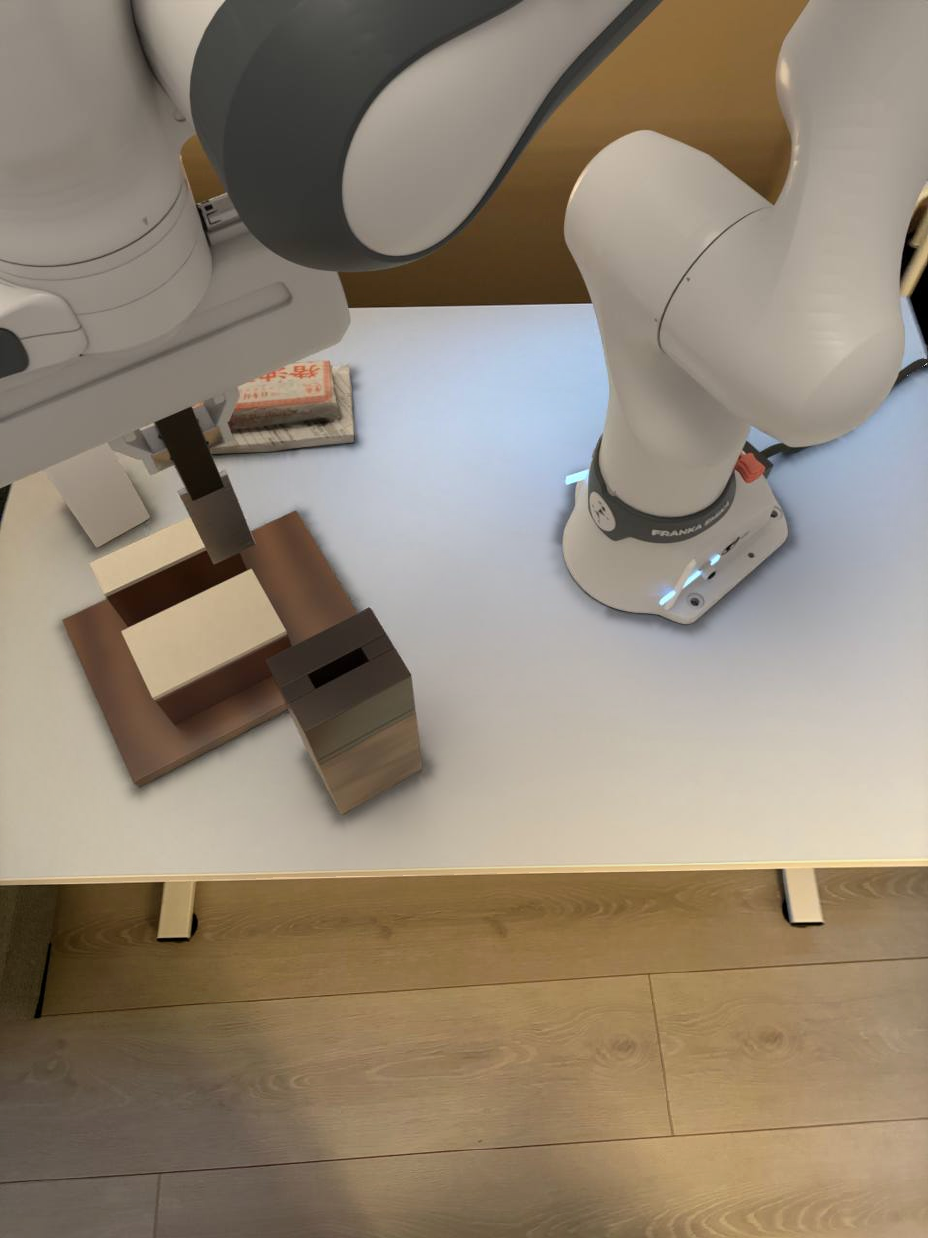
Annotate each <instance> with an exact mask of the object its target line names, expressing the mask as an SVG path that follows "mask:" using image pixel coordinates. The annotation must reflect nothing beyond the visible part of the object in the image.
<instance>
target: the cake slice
mask: <svg viewBox="0 0 928 1238" xmlns="http://www.w3.org/2000/svg"><path fill="white" fill-rule="evenodd" d="M89 566H90V568H91V570H92V573H93V574H94V577H95V579H96V582H97V583H98V585H99V587H100V590H101V592H102V594H103V596H104V597H105V599H108V601H109V602H110V603H111V605H112V606H113V608H114V609H115V610H116V612H117V613H118V614H119V616H120V617H121V618H122V620H123V621H124V623H125V624H126V625H127V627H130V626H132V625H134V624H136V623H138V622H140V621H142V620H144V619H146V618H148V617H151V616H153V615H155V614H157V613H159V612H161V611H163V610H165V609H167V608H169V607H171V606H173V605H176V604H178V603H180V602H182V601H184V600H186V599H188V598H190V597H192V596H194V595H196V594H199V593H201V592H203V591H205V590H207V589H209V588H211V587H213V586H215V585H217V584H219V583H221V582H224V581H226V580H228V579H230V578H232V577H234V576H236V575H238V574H240V573H242V572H244V571H246V570H247V568H246V566H245V563H244V561H243V559H242V556H241V554H240V552H239V553H237V554H235V555H233V556H231V557H229V558H227V559H225V560H222V561H220V562H218V563H216V564H213V562H212V560H211V558H210V556H209V554H208V552H207V550H206V548H205V546H204V544H203V542H202V540H201V538H200V536H199V534H198V532H197V530H196V528H195V526H194V524H193V522H192V520H191V518H190V516H189V517H187V518H185V519H182V520H180V521H178V522H176V523H174V524H171V525H169V526H167V527H164V528H162V529H161V530H159V531H156V532H153V533H151V534H150V535H148V536H145V537H143V538H141V539H139V540H136V541H134V542H133V543H130V544H128V545H125V546H123V547H121V548H119V549H117V550H114V551H112V552H109V553H108V554H106V555H103V556H101V557H99V558H97V559H95V560H93V561H91V562H89Z"/></svg>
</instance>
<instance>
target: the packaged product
mask: <svg viewBox="0 0 928 1238" xmlns="http://www.w3.org/2000/svg"><path fill="white" fill-rule="evenodd" d="M352 386H353V385H352V379H351V373H350V367H349V364H344V365H336V366H333V365H332V364H331V361H330V360H326V359H325V360H312V361H311V360H310V361H309V360H308V361H297V362H294V363H292V364H290V365H287V366H285V367H283V368H280V369H278V370H276V371H273V372H271V373H269V374H266V375H264V376H262V377H259V378H257V379H254V380H252V381H250V382H247V383H245V384H243V385H240V386H238V390H239V393H240V397H239V399H238V401H237V404H236V406H235V409H234V411H233V413H232V416H231V418H230V421H228V422H227V423H228V426H229V428H230V431H231V434H232V436H233V440H231V441H229V442H227V443H224V444H222V445H220V446H217V447H215V448H212V449H210V452H211V454H212V455H220V454H240V453H241V454H242V453H245V454H246V453H270V452H278V451H285V450H291V449H298V448H309V447H319V446H327V445H339V444H348V443H354V437H355V421H354V414H353V413H354V412H353V387H352ZM202 404H203V402H201V403H198V404H196V405H194V406H192V408H193V409H194V408H196V407H198V406H200V405H202Z"/></svg>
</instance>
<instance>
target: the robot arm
mask: <svg viewBox="0 0 928 1238" xmlns="http://www.w3.org/2000/svg"><path fill="white" fill-rule="evenodd" d="M663 2H664V0H0V489H2V488H4V487H7V486H9V485H11V484H13V483H16V482H18V481H21V480H23V479H26V478H27V477H30V476H32V475H34V474H36V473H37V474H38V473H39V472H41V471H44V469H46V468H48V467H51V466H53V465H55V464H58V463H60V462H62V461H65V460H67V459H70V458H72V457H74V456H77V455H79V454H81V453H84V452H86V451H88V450H91V449H93V448H95V447H98V446H100V445H102V444H105V443H108V444H109V446H110V448H111V450H113V451H114V452H115V453H118V454H121V455H123V456H124V455H125V456H127V457H130V458H133V459H135V460H138V461H142V462H143V464H144V467H145V468H146V470H147V472H148V474H149V475H150V476H151V477H152V476H154V475H157V474H158V473H160V472H162V471H165V470H167V469H169V468H171V467H173V466H174V465H175V464H174V462H173V460H172V458H171V455H170V453H169V451H168V449H167V447H166V445H165V443H164V442H163V440H162V438H161V436H160V434H159V432H158V430H157V428H156V427H155V425H154V422H156V421H158V420H161V419H163V418H166V417H168V416H170V415H173V414H175V413H177V412H180V411H182V410H184V409H187V408H189V407H191V406H194V405H196V404H198V403H201V402H203V404H202V405H200V406H198V407H196V408H194V409H193V411H194V413H195V416H196V418H197V421H198V423H199V425H200V428H201V430H202V433H203V435H204V437H205V440H206V442H207V445H208V447H209V450H210V449H212V448H215V447H217V446H220V445H222V444H224V443H227V442H229V441H231V440H233V436H232V434H231V431H230V428H229V426H228V423H227V422H228V421H230V418H231V416H232V413H233V411H234V409H235V406H236V404H237V401H238V399H239V397H240V393H239V390H238V386H240V385H243V384H245V383H247V382H250V381H252V380H254V379H257V378H259V377H262V376H264V375H266V374H269V373H271V372H273V371H276V370H278V369H280V368H283V367H285V366H287V365H290V364H292V363H295V362H300V361H301V360H303V359H306V358H308V357H310V356H313V355H315V354H317V353H318V354H319V353H320V352H322V351H324V350H327V349H330V348H332V347H334V346H336V345H338V344H339V343H340V342H341V341H342V340H343V338H344V336H345V335H346V334H347V331H348V329H349V328H350V325H351V320H352V319H351V313H350V309H349V304H348V300H347V296H346V293H345V290H344V287H343V283H342V281H341V278H340V275H339V273H365V272H376V271H383V270H388V269H389V270H390V269H394V268H398V267H402V266H404V265H408V264H410V263H414V262H416V261H418V260H421V259H423V258H425V257H427V256H429V255H432V254H433V253H435V252H436V251H438V250H439V249H442V248H443V247H444V246H445V245H447V244H448V243H450V242H451V241H452V240H453V239H455V238H456V237H457V236H458V235H459V234H461V233H462V232H463V231H464V230H465V229H466V228H467V227H468V226H469V225H470V224H471V223H472V221H473V220H474V219H475V218H476V217H477V216H478V215H479V214H480V213H481V211H482V210H483V209H484V208H485V206H486V205H487V204H488V203H489V201H490V200H491V199H492V197H493V196H494V195H495V194H496V192H497V190H498V189H499V188H500V186H502V184H503V182H504V181H505V179H506V178H507V176H508V175H509V174H510V172H511V170H512V169H513V168H514V167H515V165H516V163H517V162H518V160H519V159H520V158H521V156H522V155H523V153H524V152H525V151H526V149H527V148H528V146H529V145H530V144H531V143H532V141H533V139H534V138H535V137H536V135H537V134H538V132H540V130H541V129H542V128H543V126H544V125H545V124H547V121H548V120H550V118H551V116H552V115H553V114H555V112H556V111H557V110H558V109H559V108H560V107H561V106H562V104H563V103H564V102H565V101H566V100H567V99H568V98H569V97H570V96H571V95H572V94H573V93H574V92H575V91H576V90H577V89H578V88H579V86H581V85H582V84H583V83H584V82H585V80H586V79H588V77H589V76H590V75H592V73H594V71H595V70H596V69H597V68H599V66H600V65H602V63H603V62H604V61H605V60H606V59H607V58H608V57H609V56H610V55H611V54H612V53H613V52H614V51H615V50H616V49H617V48H618V47H619V46H620V45H621V44H622V43H623V42H625V40H626V39H627V38H628V37H629V36H630V35H631V34H632V33H633V32H634V31H635V30H636V29H637V28H638V26H640V25H641V24H642V23H643V22H644V21H645V20H646V19H647V18H648V16H650V15H651V14H652V12H653V11H655V10H656V8H658V7H659V6H660V5H661V4H662V3H663ZM775 67H776V68H775V77H774V78H775V79H774V80H775V93H776V98H777V103H778V106H779V110H780V111H781V115H782V117H783V120H784V122H785V125H786V127H787V130H788V132H789V135H790V141H791V147H790V149H791V151H790V161H789V165H788V171H787V174H786V178H785V182H784V184H783V187H782V189H781V191H780V193H779V196H778V197H777V199H776V202H775V203H774V204H773V203H771V202H770V201H769V200H767V199H766V198H765V197H764V196H762V195H761V194H759V192H757V191H756V189H755V190H754V189H753V187H751V186H750V185H748V184H747V183H746V182H745V181H743V180H742V179H741V178H739V177H738V176H736V175H735V173H733V172H731V171H730V170H729V169H728V168H727V167H725V166H724V165H723V164H722V163H720V162H719V161H717V159H715V158H714V157H713V156H711V155H710V154H708V153H706V152H704V151H702V150H699V149H698V148H696V147H693V146H691V145H689V144H686V143H684V142H682V141H679V140H677V139H675V138H673V137H669V136H667V135H664V134H662V133H659V132H657V131H654V130H651V129H640V130H636V131H633V132H630V133H628V134H625V135H623V136H621V137H619V138H617V139H616V140H614V141H612V142H611V143H609V144H607V145H606V146H605V147H604V148H602V149H601V150H600V151H599V152H598V153H597V154H596V155H595V156H593V158H591V160H590V161H589V162H588V163H587V164H586V166H585V167H584V169H583V170H582V172H581V173H580V174H579V176H578V178H577V180H576V181H575V183H574V185H573V188H572V190H571V192H570V195H569V198H568V201H567V205H566V209H565V213H564V214H565V215H564V223H563V236H564V241H565V244H566V246H567V249H568V250H569V252H570V254H571V256H572V258H573V260H574V262H575V265H576V266H577V268H578V270H579V272H580V276H581V277H582V279H583V281H584V284H585V287H586V289H587V292H588V295H589V298H590V300H591V305H592V308H593V310H594V311H593V312H594V315H595V319H596V322H597V327H598V331H599V335H600V340H601V341H600V342H601V345H602V351H603V355H604V360H605V361H604V362H605V366H606V372H607V373H606V375H607V381H608V402H607V408H606V415H605V421H604V427H603V432H602V433H601V435H600V436H599V438H598V440H597V443H596V444H595V447H594V449H593V451H592V455H591V461H590V464H589V466H588V469H585V470H582V471H579V472H576V473H572V474H569V475H566V477H565V482H564V483H565V485H566V486H567V485H570V484H573V483H576V485H575V489H574V507H573V509H572V512H571V513H570V515H569V518H568V519H567V522H566V524H565V527H564V529H563V533H562V544H561V545H562V554H563V558H564V562H565V564H566V567H567V570H568V572H569V573H570V575H571V576H572V578H573V580H574V581H575V582H576V583H577V585H578V586H579V587H580V588H581V589H582V590H583V591H584V592H586V593H587V594H588V595H589V596H591V597H592V598H593V599H595V600H596V601H598V602H599V603H601V604H604V605H606V606H608V607H610V608H613V609H616V610H619V611H623V612H628V613H637V614H653V615H658V616H660V617H662V618H665V619H667V620H670V621H671V622H672V621H673V622H675V623H678V624H681V625H691V624H693V623H694V622H696V621H697V620H698V619H699V618H701V617H702V616H703V615H704V614H705V613H706V612H707V611H709V610H710V609H711V608H712V607H713V606H715V604H716V603H718V602H719V601H720V600H721V599H722V598H723V597H724V596H726V595H727V594H728V593H729V592H730V591H732V589H734V588H735V587H736V586H737V585H738V584H739V583H740V582H742V581H743V580H744V579H746V577H747V576H748V575H749V574H751V573H752V572H753V571H754V570H756V568H757V567H759V566H760V565H761V564H762V563H764V561H766V560H767V559H768V558H769V557H771V555H772V554H773V553H775V552H776V551H777V550H778V549H779V548H780V547H782V546H783V544H784V543H785V542H786V541H787V537H788V536H789V530H788V524H787V519H786V516H785V513H784V512H783V509H782V506H781V505H780V504H779V501H778V500H777V498H776V497H775V495H774V493H773V491H772V488H771V486H770V484H769V482H768V480H767V479H768V478H769V475H770V474H771V471H772V469H773V467H774V463H773V462H771V461H770V460H769V459H770V458H772V457H773V456H775V455H778V454H780V453H782V454H784V455H788V454H793V453H795V452H798V451H801V450H804V449H806V448H808V447H811V446H818V445H821V444H825V443H828V442H831V441H833V440H835V439H838V438H841V437H842V436H844V435H846V434H848V433H850V432H851V431H854V430H855V429H857V427H859V426H860V425H861V424H863V423H864V422H865V421H867V420H868V419H869V418H870V417H871V416H872V415H874V413H875V412H876V411H877V410H878V409H879V408H880V407H881V405H882V404H883V403H884V401H885V400H886V398H887V397H888V396H889V394H890V393H891V391H892V389H893V388H894V387H896V386H897V385H898V384H900V383H901V382H902V381H904V380H905V379H907V378H908V377H910V375H912V374H913V373H915V372H916V371H918V370H920V369H922V368H928V364H927V365H925V364H926V363H928V358H927V359H924V358H925V357H923V358H919V359H917V360H915V361H913V362H911V363H910V364H908V365H906V366H905V367H904V368H902V365H903V361H904V356H905V350H906V327H905V322H904V318H903V312H902V304H901V291H900V289H901V288H900V287H901V286H900V285H901V270H902V269H901V268H902V259H903V252H904V247H905V243H906V238H907V233H908V230H909V227H910V223H911V220H912V216H913V213H914V211H915V208H916V206H917V203H918V201H919V198H920V196H921V193H922V191H923V190H924V188H925V185H926V183H927V182H928V0H809V1H808V3H807V4H806V6H805V7H804V8H803V10H802V11H801V13H800V15H799V16H798V17H797V19H796V21H794V24H793V25H792V27H791V28H790V30H789V31H788V33H787V34H786V36H785V37H784V40H783V42H782V44H781V48H780V50H779V53H778V57H777V62H776V66H775ZM194 136H197V139H198V141H199V143H200V145H201V149H202V150H203V152H204V153H205V155H206V157H207V159H208V161H209V162H210V164H211V167H212V168H213V170H214V172H215V174H216V176H217V178H218V180H219V182H220V184H221V185H222V187H223V189H224V191H225V193H222V194H220V195H217V196H215V197H212V198H210V199H209V198H208V199H206V200H204V201H201V202H199V203H196V201H195V198H194V194H193V191H192V188H191V185H190V181H189V179H188V176H187V172H186V169H185V166H184V163H183V160H182V155H181V151H182V149H183V147H184V144H185V143H186V142H187V141H188V140H189V139H190V138H192V137H194ZM924 365H925V366H924ZM922 366H923V367H922ZM921 367H922V368H921ZM901 368H902V369H901ZM919 368H920V369H919ZM917 369H918V370H917ZM914 371H915V372H914ZM912 372H913V373H912ZM909 374H910V375H909ZM907 375H908V376H907ZM151 424H153V425H152V426H149V425H151ZM146 426H149V427H146ZM145 427H146V428H145ZM752 427H753V428H755V429H757V430H758V431H760V432H761V433H763V434H765V435H767V436H769V437H771V438H772V439H773V440H775V441H778V442H780V443H776V444H773V445H770V446H769V447H767V448H764V449H763V450H760V451H759V450H758V449H757V448H756V447H755V446H754V445H753V444H751V442H749V441H748V438H749V436H750V433H751V430H752ZM142 428H144V429H142ZM771 515H772V516H771ZM773 516H774V517H773ZM692 602H694V603H696V604H697V605H694V604H693V603H692Z"/></svg>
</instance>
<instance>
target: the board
mask: <svg viewBox="0 0 928 1238" xmlns="http://www.w3.org/2000/svg"><path fill="white" fill-rule="evenodd" d="M250 531H251V534H252V536H253V539H254V541H255V544H256V545H254V546H252V547H250V548H248V549H246V550H244V551H242V552H240V554H241V556H242V559H243V561H244V563H245V566H246V568H247V570H246V571H248V570H250V569H252V570H253V572H254V574H255V576H256V577H257V579H258V581H259V583H260V585H261V586H262V588H263V590H264V592H265V594H266V595H267V597H268V599H269V601H270V603H271V604H272V606H273V608H274V610H275V612H276V613H277V615H278V617H279V619H280V621H281V622H282V624H283V626H284V628H285V630H286V632H287V634H288V637H289V639H290V642H291V645H292V646H294V645H296V644H298V643H300V642H302V641H304V640H306V639H308V638H310V637H312V636H314V635H316V634H318V633H320V632H322V631H324V630H326V629H328V628H330V627H332V626H334V625H336V624H338V623H339V622H341V621H343V620H345V619H347V618H349V617H351V616H353V615H355V614H357V613H359V612H358V610H357V608H356V607H355V605H354V604H353V601H352V600H351V599H350V597H349V595H348V594H347V592H346V590H345V589H344V587H343V585H342V583H340V580H339V579H338V577H337V575H336V574H335V572H334V570H333V569H332V567H331V566H330V563H329V562H328V561H327V559H326V557H325V556H324V554H323V552H322V551H321V548H320V547H319V546H318V544H317V542H316V541H315V539H314V538H313V536H312V534H311V532H310V530H309V529H308V527H307V525H306V524H305V522H304V521H303V519H302V517H301V516H300V513H299V512H298V511H297V510H295V509H294V510H293V511H291V512H289V513H286V514H284V515H282V516H280V517H278V518H276V519H274V520H272V521H269V522H267V523H265V524H264V525H261V526H259V527H257V528H254V529H253V530H250ZM244 572H245V571H244ZM242 573H243V572H242ZM240 574H241V573H240ZM238 575H239V574H238ZM236 576H237V575H236ZM234 577H235V576H234ZM232 578H233V577H232ZM230 579H231V578H230ZM228 580H229V579H228ZM226 581H227V580H226ZM224 582H225V581H224ZM221 583H223V582H221ZM219 584H220V583H219ZM217 585H218V584H217ZM215 586H216V585H215ZM213 587H214V586H213ZM211 588H212V587H211ZM209 589H210V588H209ZM207 590H208V589H207ZM205 591H206V590H205ZM203 592H204V591H203ZM201 593H202V592H201ZM199 594H200V593H199ZM196 595H198V594H196ZM194 596H195V595H194ZM192 597H193V596H192ZM190 598H191V597H190ZM188 599H189V598H188ZM186 600H187V599H186ZM184 601H185V600H184ZM182 602H183V601H182ZM180 603H181V602H180ZM178 604H179V603H178ZM176 605H177V604H176ZM173 606H175V605H173ZM173 606H171V607H173ZM169 608H170V607H169ZM167 609H168V608H167ZM165 610H166V609H165ZM163 611H164V610H163ZM161 612H162V611H161ZM159 613H160V612H159ZM157 614H158V613H157ZM155 615H156V614H155ZM153 616H154V615H153ZM151 617H152V616H151ZM148 618H150V617H148ZM146 619H147V618H146ZM144 620H145V619H144ZM61 621H62V623H63V626H64V627H65V630H66V632H67V634H68V637H69V639H70V641H71V644H72V646H73V648H74V650H75V653H76V655H77V657H78V659H79V662H80V664H81V667H82V668H83V671H84V674H85V676H86V678H87V681H88V682H89V684H90V687H91V689H92V692H93V694H94V696H95V698H96V700H97V703H98V705H99V707H100V710H101V712H102V714H103V717H104V719H105V720H106V723H107V725H108V727H109V730H110V733H111V734H112V738H113V739H114V741H115V744H116V746H117V749H118V750H119V753H120V755H121V757H122V758H121V759H122V760H123V762H124V765H125V767H126V768H127V771H128V774H129V776H130V778H131V780H132V782H133V784H135V785H136V786H137V787H138V788H141V787H142V786H145V785H146V784H149V783H150V782H152V781H154V780H156V779H158V778H160V777H162V776H163V775H166V774H168V773H169V772H172V771H173V770H176V769H177V768H179V767H181V766H183V765H184V764H186V763H189V762H190V761H192V760H194V759H196V758H199V757H200V756H202V755H204V754H206V753H207V752H209V751H211V750H213V749H215V748H217V747H220V746H222V745H224V743H227V742H228V741H230V740H232V739H235V738H236V737H238V736H240V735H242V734H243V733H245V732H248V731H249V730H251V729H253V728H256V727H258V726H259V725H261V724H263V723H266V722H267V721H269V720H271V719H272V718H274V717H276V716H279V715H280V714H282V713H284V712H286V711H287V710H288V708H287V706H286V704H285V702H284V699H283V697H282V695H281V693H280V691H279V689H278V687H277V684H276V682H275V680H274V678H273V676H271V677H269V678H267V679H265V680H263V681H261V682H259V683H257V684H255V685H253V686H251V687H249V688H247V689H245V690H243V691H241V692H239V693H237V694H236V695H234V696H232V697H230V698H228V699H226V700H224V701H222V702H220V703H218V704H216V705H214V706H212V707H210V708H208V709H206V710H204V711H202V712H200V713H198V714H196V715H195V716H193V717H191V718H189V719H187V720H185V721H183V722H181V723H179V724H177V725H174V724H173V723H172V722H171V720H170V719H169V718H168V717H167V716H166V714H165V713H164V712H163V711H162V709H161V708H160V707H159V706H158V704H157V703H156V702H155V701H154V699H153V698H152V696H151V694H150V692H149V690H148V688H147V686H146V684H145V681H144V679H143V677H142V675H141V673H140V671H139V669H138V667H137V664H136V662H135V660H134V658H133V656H132V654H131V652H130V649H129V647H128V645H127V643H126V641H125V639H124V637H123V635H122V632H121V631H122V630H125V629H127V628H129V627H127V625H126V624H125V623H124V621H123V620H122V618H121V617H120V616H119V614H118V613H117V612H116V610H115V609H114V608H113V606H112V605H111V603H110V602H109V601H108V599H107V598H105V599H103V600H101V601H99V602H97V603H95V604H93V605H90V606H89V607H86V608H83V609H81V610H80V611H78V612H76V613H74V614H71V615H70V616H69V615H68V616H67V617H65V618H63V619H62V620H61ZM142 621H143V620H142ZM140 622H141V621H140ZM138 623H139V622H138ZM136 624H137V623H136ZM134 625H135V624H134ZM132 626H133V625H132ZM130 627H131V626H130ZM288 711H289V710H288Z"/></svg>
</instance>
